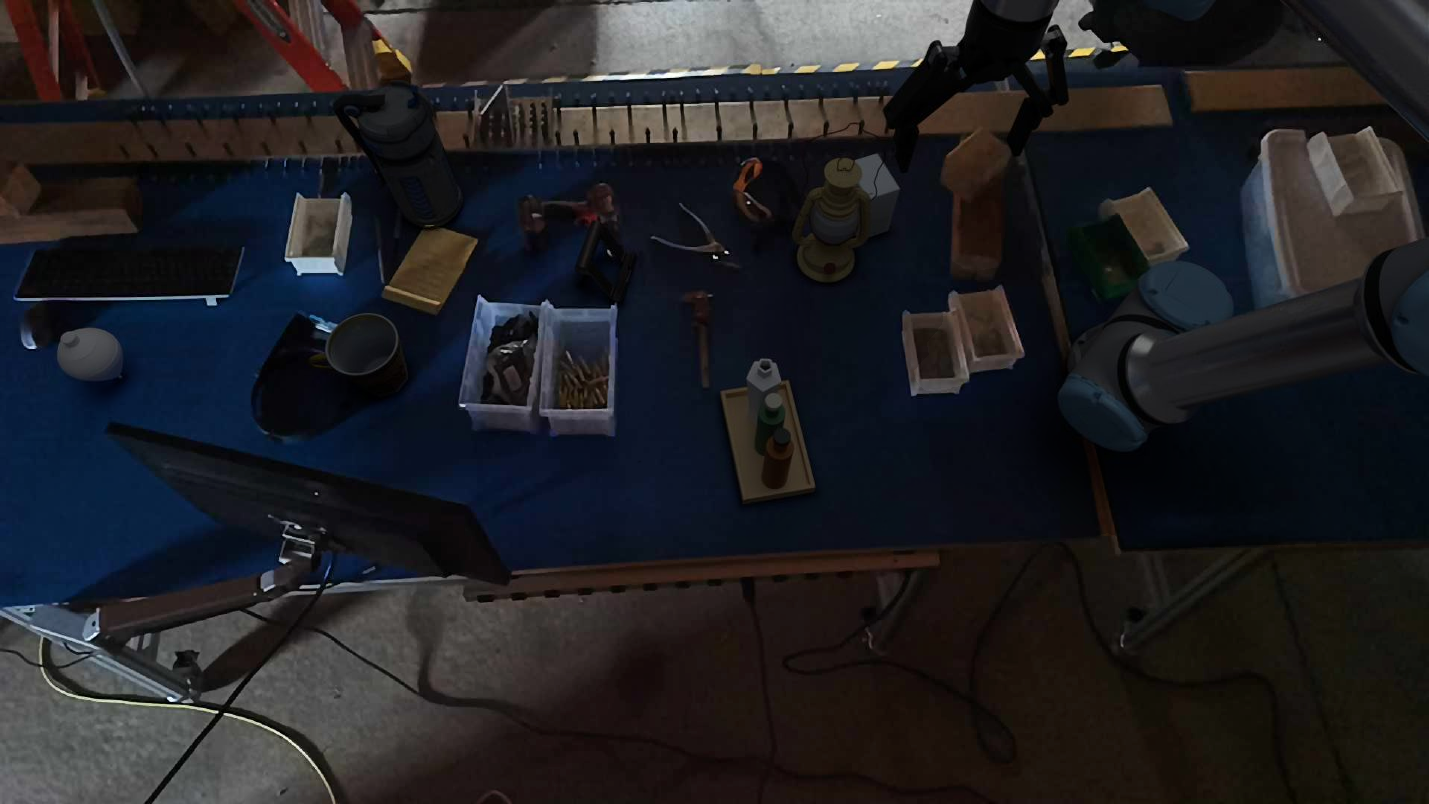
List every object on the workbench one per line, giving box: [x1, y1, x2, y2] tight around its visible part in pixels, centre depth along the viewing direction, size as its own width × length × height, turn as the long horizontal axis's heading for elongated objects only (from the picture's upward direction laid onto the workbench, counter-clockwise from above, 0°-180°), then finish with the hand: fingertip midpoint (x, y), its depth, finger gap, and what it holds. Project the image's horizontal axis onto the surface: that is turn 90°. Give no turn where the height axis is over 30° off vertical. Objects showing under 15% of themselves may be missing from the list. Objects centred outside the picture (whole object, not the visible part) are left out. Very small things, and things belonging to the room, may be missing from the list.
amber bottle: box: [762, 428, 794, 489], centre depth 115 cm, size 4×4×14 cm
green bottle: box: [754, 393, 786, 456], centre depth 117 cm, size 4×4×14 cm
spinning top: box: [56, 327, 124, 382], centre depth 123 cm, size 8×8×12 cm
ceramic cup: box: [308, 312, 409, 398], centre depth 124 cm, size 13×10×10 cm
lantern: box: [791, 121, 887, 283], centre depth 125 cm, size 12×10×30 cm
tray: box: [719, 379, 816, 505], centre depth 123 cm, size 10×17×2 cm, turn 11°
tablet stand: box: [574, 220, 637, 304], centre depth 133 cm, size 9×8×8 cm
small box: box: [854, 153, 901, 238], centre depth 137 cm, size 8×6×10 cm
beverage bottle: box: [332, 79, 464, 228], centre depth 131 cm, size 10×13×25 cm
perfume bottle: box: [746, 358, 782, 426], centre depth 119 cm, size 5×4×15 cm
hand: (957, 156), depth 100 cm, fingers open, 13 cm apart
